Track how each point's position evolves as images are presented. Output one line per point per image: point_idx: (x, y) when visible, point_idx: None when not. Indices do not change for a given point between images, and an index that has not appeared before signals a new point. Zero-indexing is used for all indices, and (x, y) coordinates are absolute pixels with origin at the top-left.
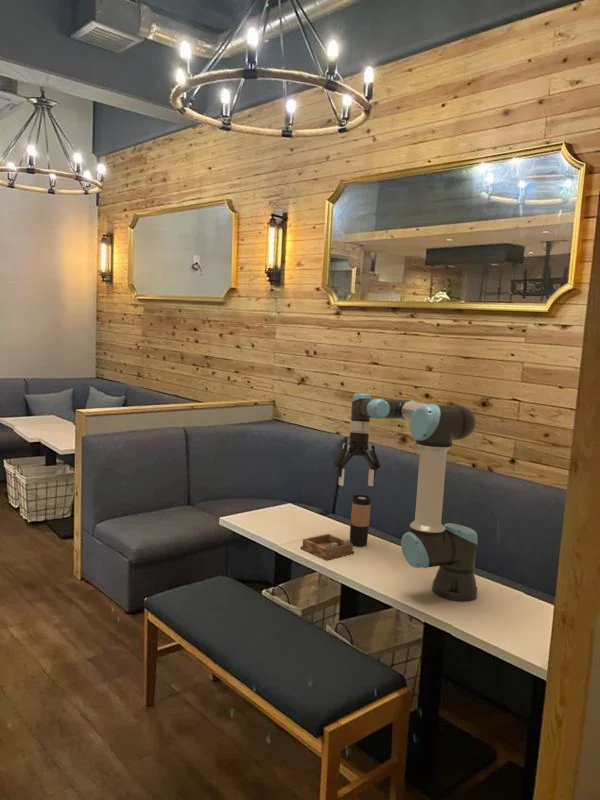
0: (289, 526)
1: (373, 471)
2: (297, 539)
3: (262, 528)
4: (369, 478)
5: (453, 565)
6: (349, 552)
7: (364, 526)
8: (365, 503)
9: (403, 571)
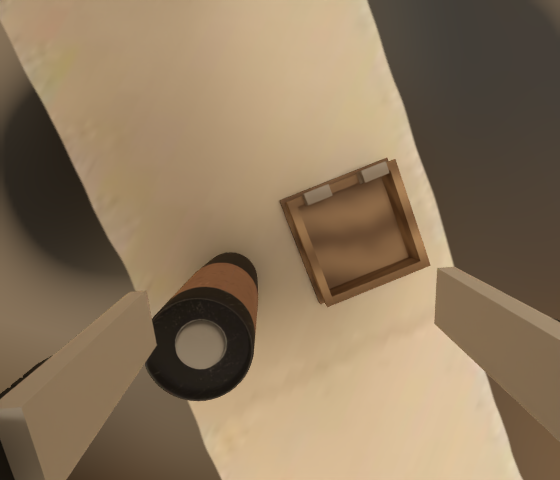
0: (375, 447)
1: (22, 389)
2: (395, 338)
3: (458, 435)
4: (121, 372)
5: None
6: (298, 194)
7: (218, 262)
8: (203, 289)
9: (190, 36)
